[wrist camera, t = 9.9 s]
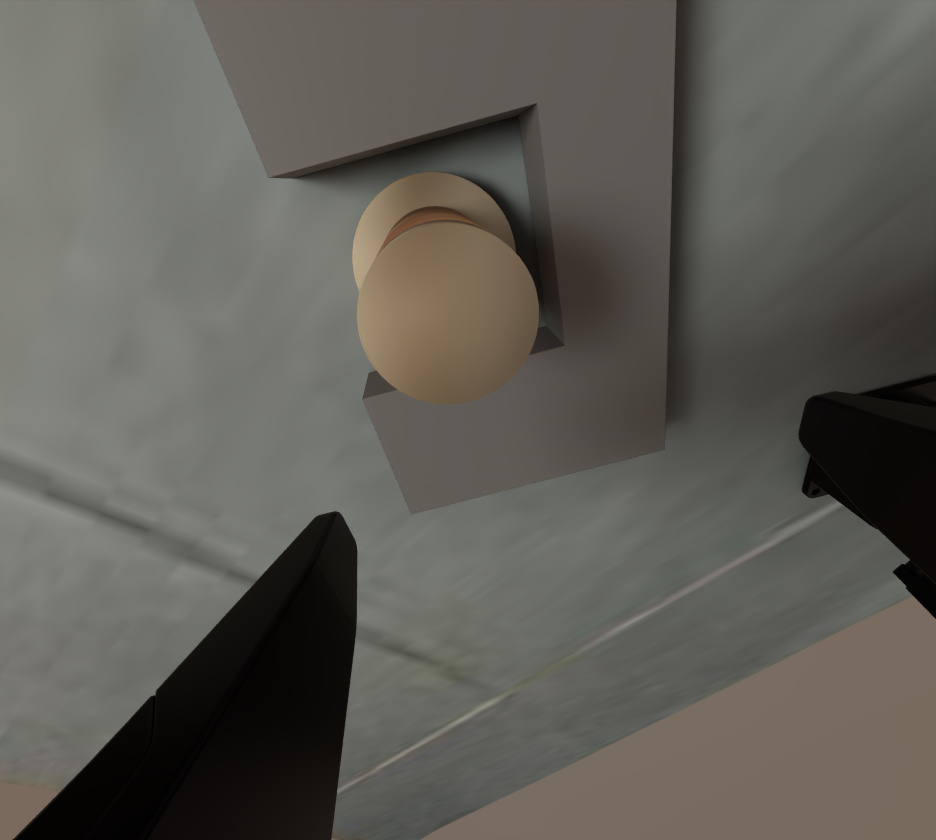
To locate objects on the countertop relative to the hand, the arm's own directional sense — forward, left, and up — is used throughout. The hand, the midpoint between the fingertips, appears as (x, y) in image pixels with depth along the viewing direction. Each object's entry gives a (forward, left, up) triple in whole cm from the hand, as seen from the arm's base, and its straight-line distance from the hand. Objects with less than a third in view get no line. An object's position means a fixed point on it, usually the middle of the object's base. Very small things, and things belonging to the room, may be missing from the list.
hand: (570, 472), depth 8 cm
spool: (+2, -3, -11) cm, 11 cm away
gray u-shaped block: (0, -3, -11) cm, 11 cm away
